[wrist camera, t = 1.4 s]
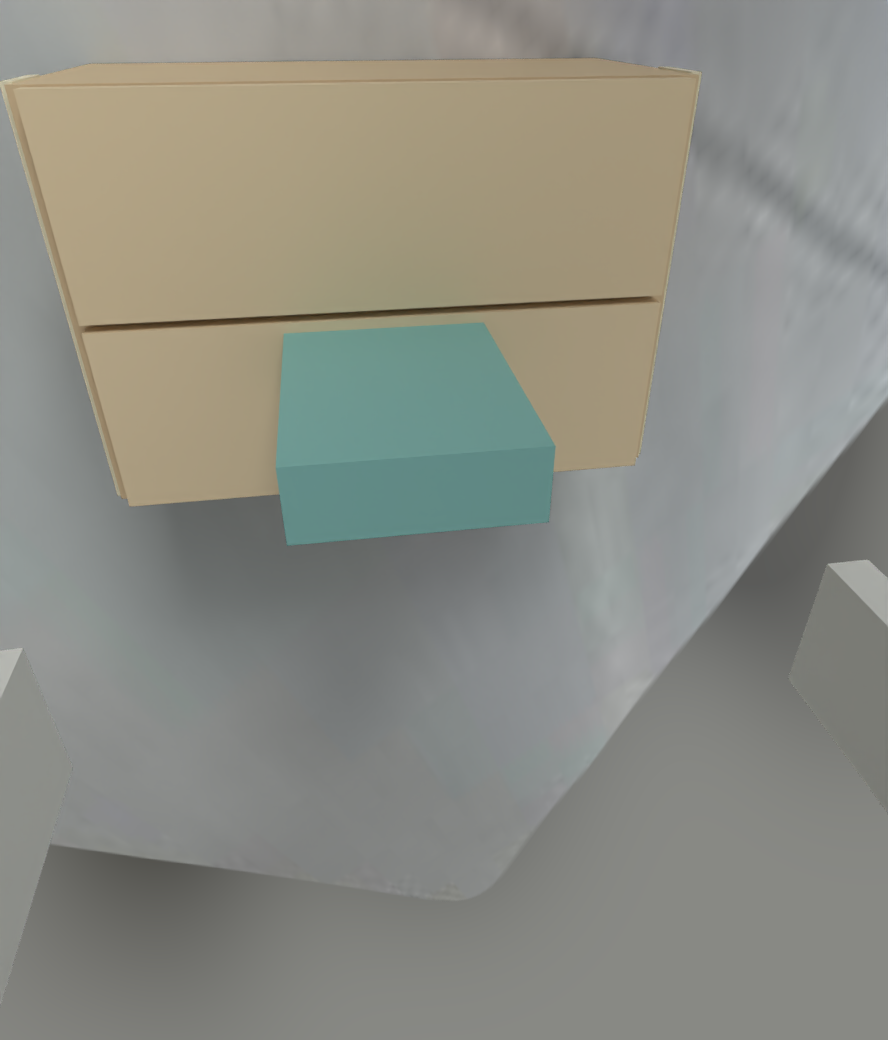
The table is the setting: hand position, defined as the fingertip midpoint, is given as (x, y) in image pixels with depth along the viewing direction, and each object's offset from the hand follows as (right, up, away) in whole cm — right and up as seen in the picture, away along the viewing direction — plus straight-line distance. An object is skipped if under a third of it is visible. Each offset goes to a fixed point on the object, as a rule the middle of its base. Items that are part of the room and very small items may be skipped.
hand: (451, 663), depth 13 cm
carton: (-3, +14, +18) cm, 23 cm away
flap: (-2, +6, +12) cm, 14 cm away
